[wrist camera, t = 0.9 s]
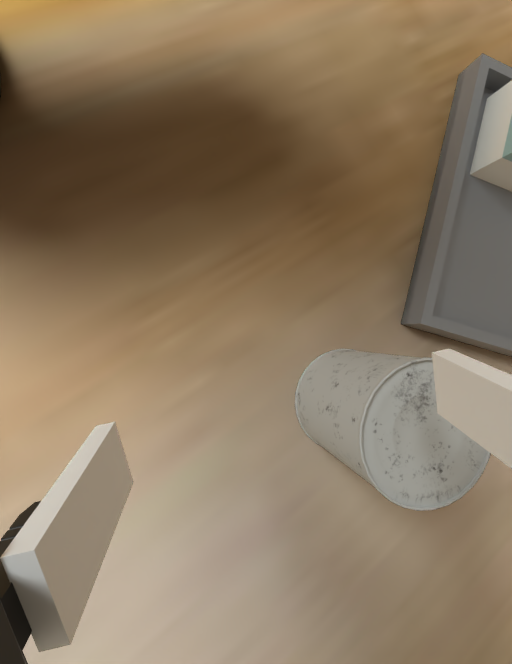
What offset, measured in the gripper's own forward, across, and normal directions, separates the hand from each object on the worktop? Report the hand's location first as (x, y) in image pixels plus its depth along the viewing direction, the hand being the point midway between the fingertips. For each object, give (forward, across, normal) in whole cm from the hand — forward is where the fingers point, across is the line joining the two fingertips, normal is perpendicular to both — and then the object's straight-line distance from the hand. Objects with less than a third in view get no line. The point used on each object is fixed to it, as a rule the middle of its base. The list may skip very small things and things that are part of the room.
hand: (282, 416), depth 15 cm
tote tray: (+24, +28, +4) cm, 37 cm away
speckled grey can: (+19, +7, -9) cm, 22 cm away
